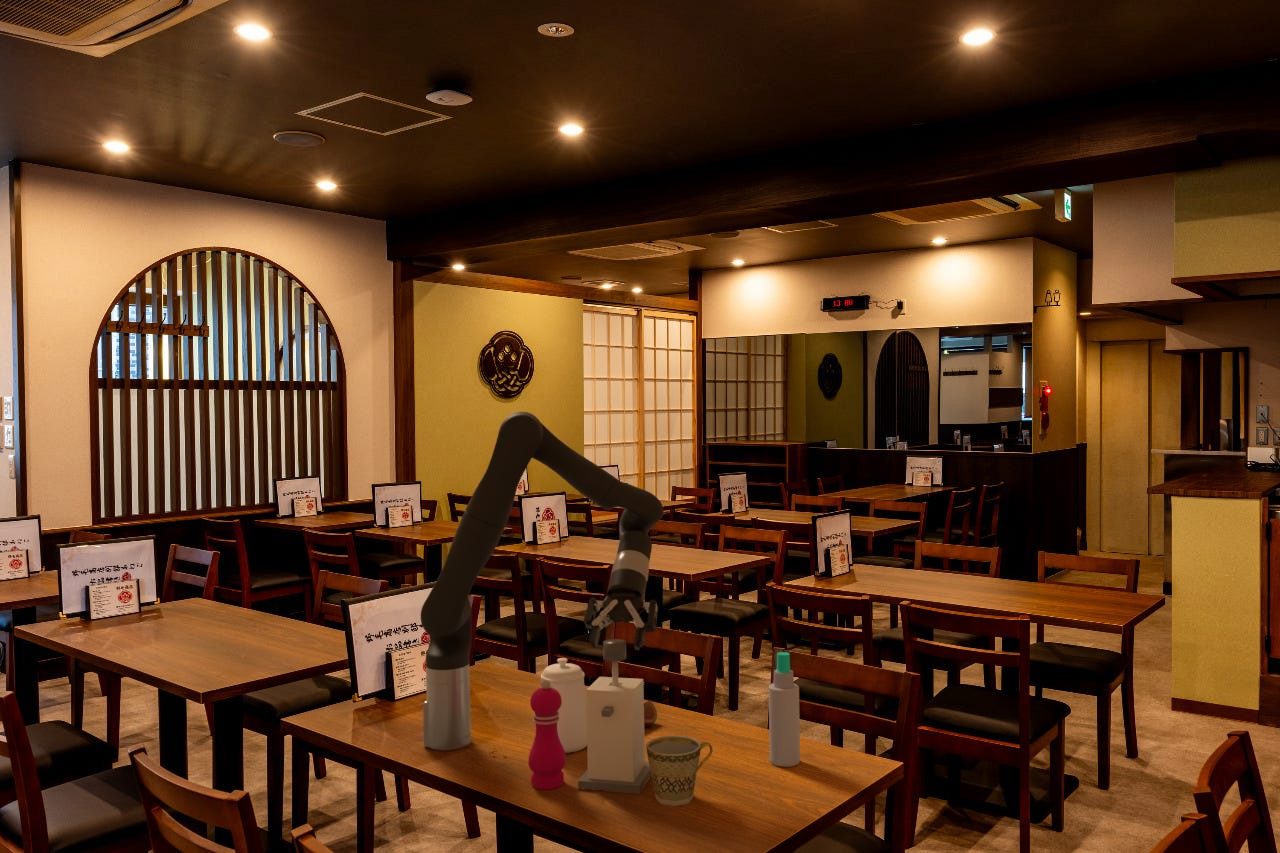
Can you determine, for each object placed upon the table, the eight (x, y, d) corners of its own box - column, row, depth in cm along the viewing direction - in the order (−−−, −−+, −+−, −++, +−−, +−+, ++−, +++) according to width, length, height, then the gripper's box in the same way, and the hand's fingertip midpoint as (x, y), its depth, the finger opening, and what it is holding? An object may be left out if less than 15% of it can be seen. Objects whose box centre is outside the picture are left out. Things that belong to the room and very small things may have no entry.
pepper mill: (551, 793, 177) (549, 687, 177) (521, 786, 181) (518, 682, 181) (573, 780, 183) (571, 677, 183) (544, 773, 187) (542, 673, 187)
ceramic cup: (661, 814, 167) (660, 758, 167) (638, 793, 177) (637, 740, 176) (725, 801, 173) (724, 746, 172) (700, 781, 182) (699, 729, 182)
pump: (602, 750, 182) (600, 644, 182) (608, 742, 186) (606, 638, 186) (624, 752, 181) (622, 645, 181) (630, 744, 185) (628, 639, 185)
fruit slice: (642, 734, 209) (642, 711, 209) (617, 729, 213) (617, 707, 213) (662, 723, 216) (662, 701, 216) (637, 718, 220) (637, 697, 220)
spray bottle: (766, 765, 189) (764, 656, 189) (773, 755, 195) (772, 648, 194) (796, 769, 187) (794, 658, 187) (802, 758, 193) (801, 651, 192)
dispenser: (576, 790, 178) (574, 693, 178) (596, 765, 191) (594, 674, 191) (638, 795, 175) (636, 696, 175) (654, 769, 188) (652, 677, 188)
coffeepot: (520, 767, 191) (518, 674, 191) (555, 726, 215) (554, 643, 215) (572, 770, 189) (570, 676, 188) (602, 728, 213) (600, 645, 213)
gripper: (591, 566, 194) (575, 635, 183) (659, 567, 190) (647, 638, 179) (599, 587, 199) (584, 655, 188) (665, 589, 195) (654, 658, 185)
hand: (615, 647), depth 184 cm, fingers open, 8 cm apart
